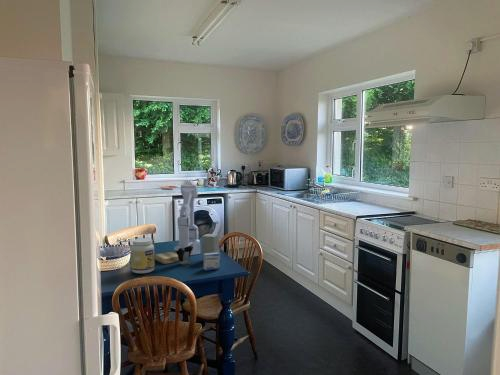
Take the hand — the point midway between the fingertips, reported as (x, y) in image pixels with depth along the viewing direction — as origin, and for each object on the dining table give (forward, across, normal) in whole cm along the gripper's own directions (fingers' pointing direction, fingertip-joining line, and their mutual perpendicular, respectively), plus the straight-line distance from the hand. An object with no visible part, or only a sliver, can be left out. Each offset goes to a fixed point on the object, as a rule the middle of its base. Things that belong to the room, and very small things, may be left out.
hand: (184, 260), depth 219 cm
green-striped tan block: (+2, 0, -13) cm, 13 cm away
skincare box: (+2, -12, +10) cm, 16 cm away
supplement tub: (+2, +22, -10) cm, 24 cm away
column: (+2, 0, 0) cm, 2 cm away
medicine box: (+2, 0, +19) cm, 19 cm away
